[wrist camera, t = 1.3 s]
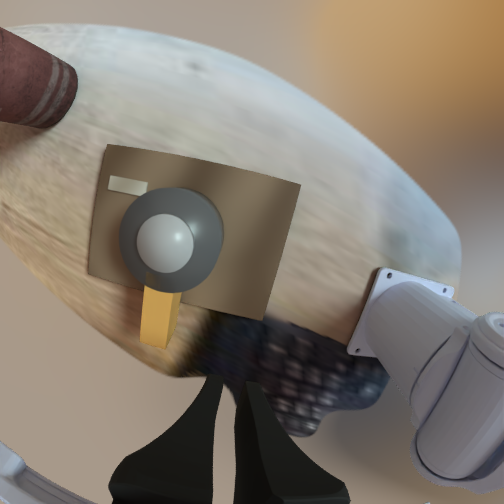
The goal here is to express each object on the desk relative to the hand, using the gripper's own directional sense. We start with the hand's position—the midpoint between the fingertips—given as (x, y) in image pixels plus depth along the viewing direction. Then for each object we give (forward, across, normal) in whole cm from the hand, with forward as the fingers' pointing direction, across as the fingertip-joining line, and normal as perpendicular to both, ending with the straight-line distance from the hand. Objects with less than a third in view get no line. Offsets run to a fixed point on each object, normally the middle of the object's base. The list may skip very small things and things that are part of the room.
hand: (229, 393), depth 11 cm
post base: (+9, +5, -5) cm, 12 cm away
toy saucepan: (+8, +5, -3) cm, 10 cm away
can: (+10, +20, -14) cm, 26 cm away
